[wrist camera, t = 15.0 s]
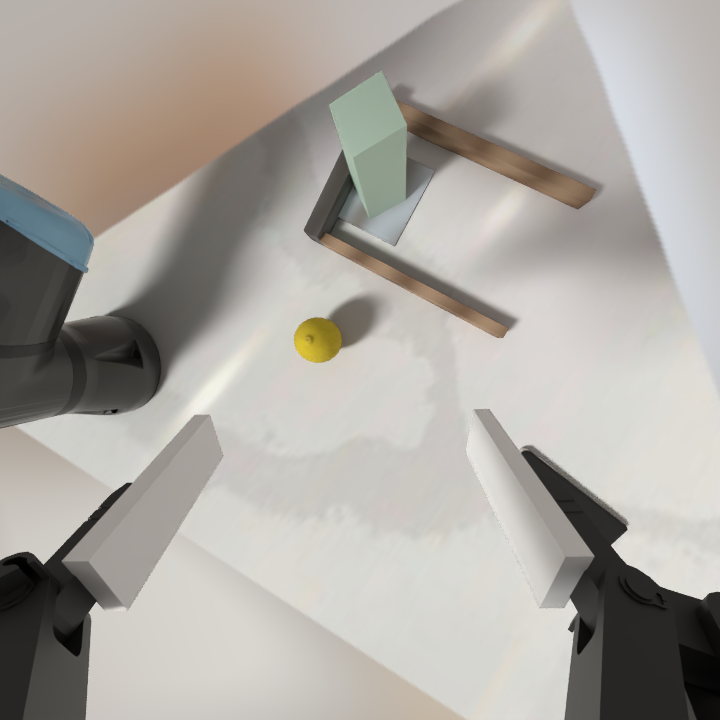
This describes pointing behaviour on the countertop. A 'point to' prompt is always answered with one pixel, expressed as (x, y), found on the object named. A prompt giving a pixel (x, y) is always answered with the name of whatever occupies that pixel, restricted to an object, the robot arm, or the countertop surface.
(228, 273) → the countertop surface
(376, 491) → the countertop surface
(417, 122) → the track
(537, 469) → the smartphone
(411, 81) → the countertop surface
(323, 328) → the lemon
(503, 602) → the countertop surface
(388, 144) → the block
